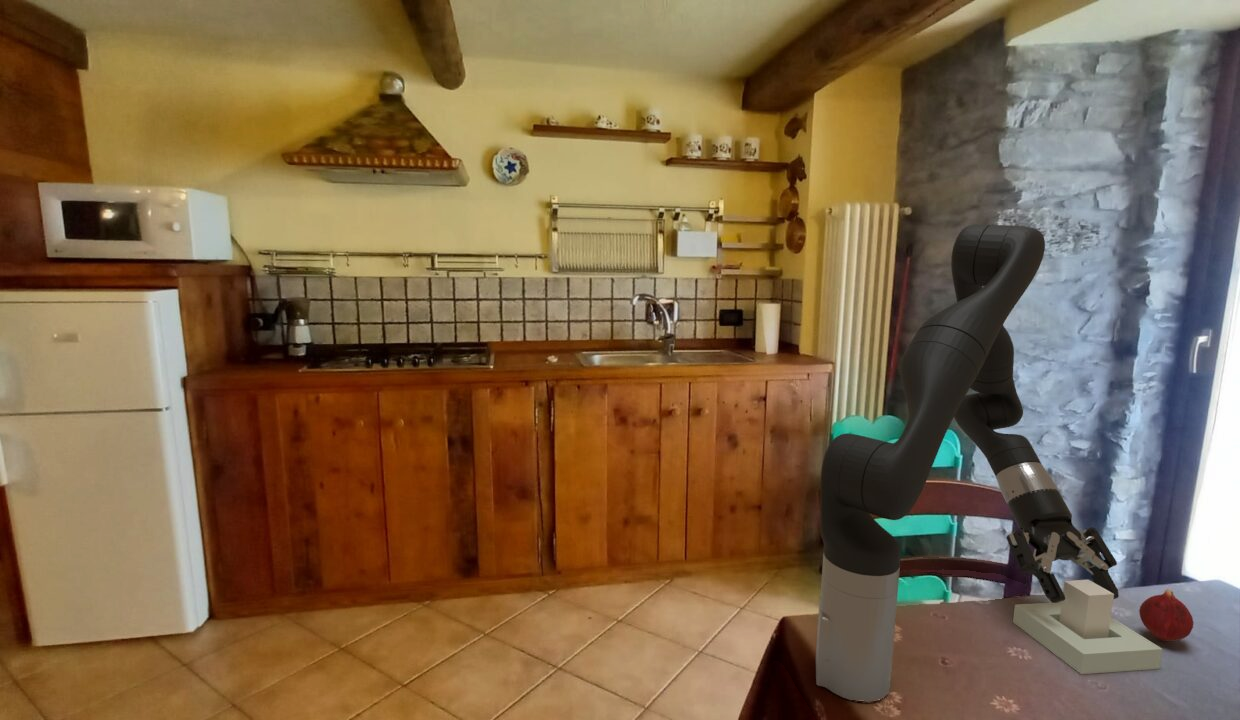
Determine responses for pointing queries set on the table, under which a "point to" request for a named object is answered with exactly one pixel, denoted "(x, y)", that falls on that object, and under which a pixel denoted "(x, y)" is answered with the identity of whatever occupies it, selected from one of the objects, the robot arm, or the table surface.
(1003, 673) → the table surface
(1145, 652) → the socket
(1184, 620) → the onion
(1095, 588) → the plug
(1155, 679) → the table surface
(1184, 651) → the table surface
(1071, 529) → the robot arm
